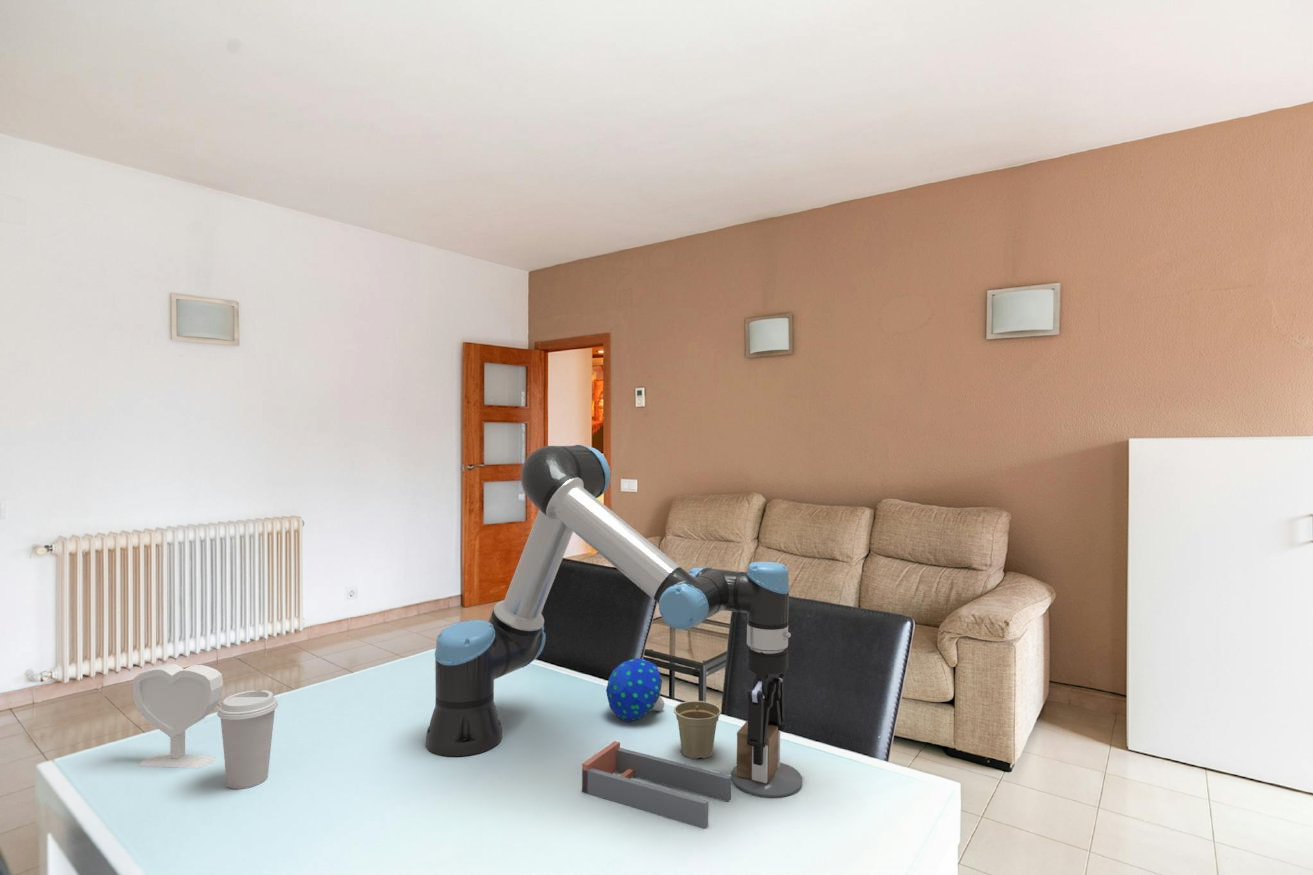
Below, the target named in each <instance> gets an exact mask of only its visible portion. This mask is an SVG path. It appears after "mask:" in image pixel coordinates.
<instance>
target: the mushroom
mask: <svg viewBox="0 0 1313 875" xmlns="http://www.w3.org/2000/svg"><path fill="white" fill-rule="evenodd" d="M658 668H659V667H658V666H657V664H655V663H653V662H651V661H650V660H646V659H644V658H640V657H639V658H638V657H637V658H631V659H628V660H626V661H623V662H621V663H620V664H619V665H618V666H617V667H615V668H614V669H613V670H612V673H611V674H610V676H609V677H608V681H607V685H606V689H605V691H606V692H605V693H606V696H607V701H608V705H609V708H610V709H611V711H612V713H613V714H614V715H615V716H617V717H619V718H620V719H621V720H622V721H624V722H632V721H636V720H640V719H643V718H644V717H645V716H646V715H648V713H649V712H650V711H655V712H661V711H662V710H663V709H664V707H665V701H664V700H663V698H662V697H661V692H662V687H663V686H662V684H663V679H662V677H661V674H660V671H659V669H658Z"/></svg>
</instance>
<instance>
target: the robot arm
mask: <svg viewBox="0 0 1313 875" xmlns="http://www.w3.org/2000/svg"><path fill="white" fill-rule="evenodd" d="M610 468H611V467H610V466H609V464H608V461H607V459H606V457H605V456H604V454H603V453H601V451H600V450H598V449H596V448H594V447H592V446H590V445H589V446H588V445H583V444H575V445H545V446H542V447H539V448H538V449H536V450H534V451H532V452H531V453H530V454H529V455H528V456H527V458H526V459H525V460H524V462H523V465H522V468H521V471H520V481H521V487H522V489H523V492H524V494H525V496H526V497H527V498H528V500H529V501H530V502H531V503H532V505H534V507H535V508H537V509H538V511H537V514H536V517H535V520H534V522H533V524H532V527H531V530H530V533H529V535H528V538H527V541H526V543H525V545H524V548H523V551H522V552H521V555H520V559H519V561H518V564H517V566H516V568H515V571H514V573H513V577H512V579H511V582H510V584H509V587H508V589H507V592H506V595H505V597H504V599H502V600H500V601H498V602H496V604H495V605H494V606H493V609H492V611H491V614H490V617H489V620H488V621H487V620H482V619H470V620H465V621H464V622H463V621H460V622H456V623H453V624H450V625H448V626H447V627H444V628H443V629H442V630H441V631H440V632H439V633H438V635H437V637H436V646H435V647H436V648H435V651H434V658H435V662H434V663H435V664H434V665H435V667H434V668H435V669H434V670H435V702H434V703H435V704H434V705H435V706H434V709H433V712H432V715H431V719H430V722H429V726H428V727H427V730H426V734H425V746H426V748H427V750H428V751H430V752H431V753H433V754H436V755H439V756H447V757H463V756H464V757H465V756H471V755H475V754H480V753H483V752H486V751H488V750H491V749H493V748H494V747H496V746H497V745H499V744H500V743H501V741H502V738H503V725H502V722H501V720H499V714H498V711H497V710H498V709H497V708H496V704H495V697H494V695H495V693H494V692H495V691H494V690H495V680H496V679H499V678H500V677H503V676H505V675H507V674H510V673H513V672H515V671H517V670H520V669H522V668H525V667H527V666H529V664H531V663H532V662H533V661H535V660H536V659H538V657H539V656H540V655H541V654H542V652H543V650H544V647H545V644H546V637H547V636H546V632H544V630H545V625H544V624H545V618H544V615H543V614H542V611H543V609H544V606H545V604H546V602H547V598H548V597H549V596H548V595H549V594H550V591H551V589H552V587H553V583H554V581H555V579H556V576H557V573H558V571H559V568H560V566H561V563H562V561H563V559H564V557H565V553H566V551H567V548H568V546H569V543H570V540H571V538H572V535H573V534H576V535H577V536H578V538H580V539H582V540H583V541H584V543H586V544H588V545H589V546H590V547H591V548H592V549H593V550H595V551H596V552H597V553H598V554H599V555H600V556H601V557H603V558H604V559H605V560H606V561H608V562H609V563H610V564H612V566H614V567H615V568H616V569H617V570H618V571H619V572H621V574H623V575H624V576H625V577H626V578H627V579H629V580H630V581H631V582H632V583H634V584H635V585H636V586H637V587H638V588H639V589H641V591H643V592H644V593H646V594H647V595H648V596H649V597H650V598H651V599H652V600H654V601H655V603H657V604H658V611H659V614H660V616H661V618H662V621H663V622H664V623H665V624H666V625H668V626H669V627H670V628H672V629H675V630H679V631H680V630H681V631H682V630H683V631H684V630H687V629H691V628H694V627H697V626H699V625H700V624H702V623H703V622H704V621H705V620H707V619H708V618H711V617H713V616H715V615H716V614H718V613H719V612H722V611H724V612H725V611H727V612H735V613H740V614H741V613H742V614H743V613H745V614H746V615H747V621H746V622H747V624H746V645H747V646H748V647H747V648H746V667H747V668H748V669H749V671H751V672H753V673H754V674H755V677H754V680H753V685H752V686H753V689H748V691H747V699H748V700H747V701H748V708H747V709H748V711H747V713H748V714H747V721H748V735H747V745H750V746H752V780H755V781H759V782H763V783H767V777H768V745H766V737H767V728H768V725H773V726H778V750H777V768H779V767H780V762H781V731H782V732H785V731H786V725H785V724H784V723H785V680H786V679H785V678H786V677H785V676H786V671H787V670H788V669H789V651H788V649H787V648H788V647H789V638H791V636H792V635H791V632H789V610H790V609H789V606H790V604H789V603H790V592H791V590H790V585H789V584H790V583H789V582H790V581H789V570H788V568H787V566H786V565H784V564H783V563H779V562H775V561H774V562H773V561H754V562H751V563H750V564H749V565H748V567H747V570H746V571H739V570H738V571H736V570H727V569H721V568H712V567H694V568H692V569H690V570H689V571H688V572H687V570H685V569H684V568H682V567H681V566H680V565H679V564H677V563H676V562H675V561H674V560H672V559H671V558H670V557H669V556H668V555H667V554H665V553H664V552H663V551H661V550H660V549H659V548H658V547H656V546H655V545H654V544H653V543H652V542H650V541H649V540H648V539H647V538H645V537H644V536H643V535H642V534H641V533H640V532H639V531H637V530H636V529H635V528H634V527H632V526H631V525H629V523H627V522H626V521H625V520H624V519H623V518H621V517H620V516H618V515H617V514H616V513H615V512H614V511H612V510H611V509H610V508H609V507H608V506H607V505H605V504H604V503H603V502H601V501H600V500H599V497H601V496H602V495H603V494H605V493H606V492H607V490H608V488H609V486H610V484H611V469H610Z"/></svg>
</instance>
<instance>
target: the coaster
mask: <svg viewBox="0 0 1313 875" xmlns="http://www.w3.org/2000/svg"><path fill="white" fill-rule="evenodd" d="M730 776H731V784H733V786H734V787H735V788H737V789H738V790H740V791H741V792H743V793H744V794H745V793H746V794H748V795H750V796H754V797H758V798H766V799H780V798H786V797H789V796H793V795H795V794H797V793H798V792H799V791H800V790H801V789H802V787H803V776H802V775H801V773H800V772H799V771H798V769H796V768H794V767H793V766H790V765H789V764H786V763H783V762H781V761H780V767H779V768H777V770H776V772H775V774H774V775H773V777H772V778H771V780H770V781H769V783H763V782H759V781H755V780H752V779H748V778H743V777H739V776H737V764H736V765H734V767H733V768H732V769H731V771H730Z"/></svg>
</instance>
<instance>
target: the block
mask: <svg viewBox="0 0 1313 875" xmlns="http://www.w3.org/2000/svg"><path fill="white" fill-rule="evenodd" d="M747 735H748V720H746V722H744V724H743V725H742V726H741V727H740V729H739V730H738V731H737V732H736V765H737V776H739V777H743V778H748V779H752V746H750V745H747ZM766 745H768V777H767V783H769V781H770V780H771V778H772V777H773V775H774V774H775V772H776V770H777V750H778V726H773V725H768V728H767V737H766Z"/></svg>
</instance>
